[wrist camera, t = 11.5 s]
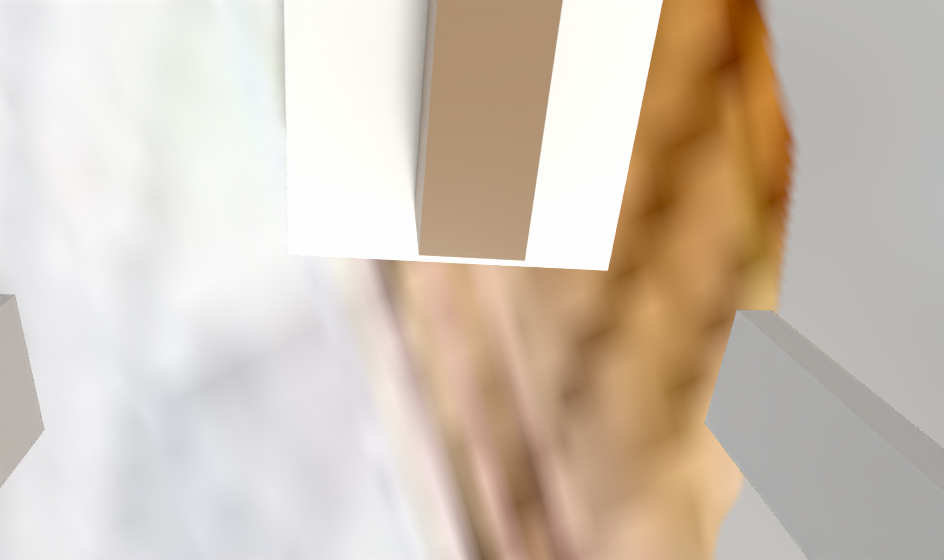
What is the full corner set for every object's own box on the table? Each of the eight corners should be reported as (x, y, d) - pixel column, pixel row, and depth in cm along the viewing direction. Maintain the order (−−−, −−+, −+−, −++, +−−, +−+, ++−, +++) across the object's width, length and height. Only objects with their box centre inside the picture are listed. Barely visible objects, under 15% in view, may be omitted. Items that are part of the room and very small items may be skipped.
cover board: (291, 246, 29) (265, 310, 24) (285, -133, 23) (249, -174, 17) (601, 262, 32) (649, 324, 26) (669, -81, 26) (752, -102, 20)
